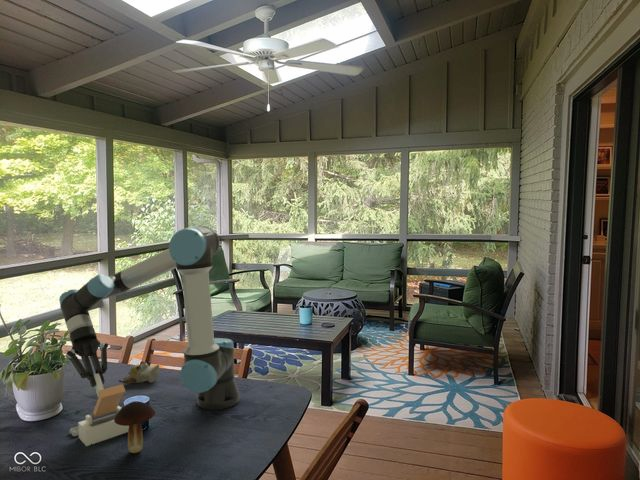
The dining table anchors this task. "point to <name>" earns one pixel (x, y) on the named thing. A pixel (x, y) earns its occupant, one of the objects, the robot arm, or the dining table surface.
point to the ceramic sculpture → (142, 373)
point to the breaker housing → (98, 429)
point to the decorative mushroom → (134, 422)
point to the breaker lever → (108, 401)
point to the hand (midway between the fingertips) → (101, 394)
